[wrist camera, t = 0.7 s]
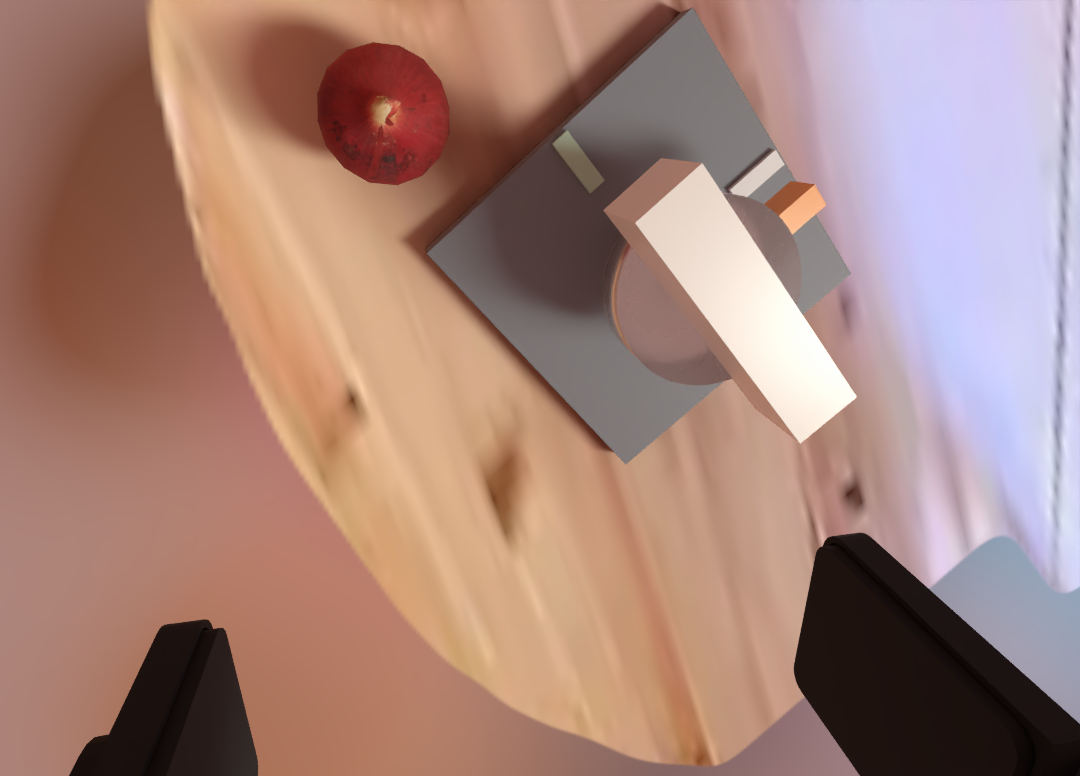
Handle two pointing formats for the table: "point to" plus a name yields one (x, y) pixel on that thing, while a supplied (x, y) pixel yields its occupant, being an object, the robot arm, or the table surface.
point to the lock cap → (719, 292)
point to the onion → (383, 113)
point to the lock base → (587, 232)
